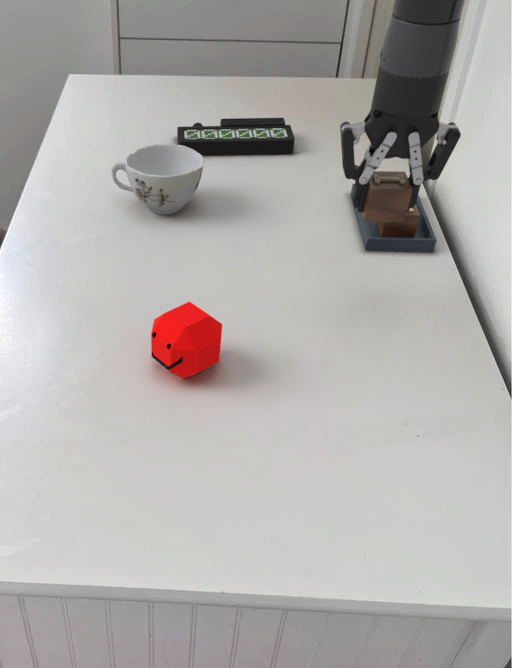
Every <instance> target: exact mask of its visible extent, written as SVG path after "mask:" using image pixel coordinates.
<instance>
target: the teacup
mask: <svg viewBox="0 0 512 668" xmlns="http://www.w3.org/2000/svg"><path fill="white" fill-rule="evenodd" d="M204 167H205V158H204V157H203V156H202V155H201V154H200V153H197V152H196V151H195V150H193V149H191V148H188V147H186V146H182V145H178V144H175V143H163V144H151V145H146V146H142V147H141V148H137V149H135V150H134V152H131V153H129V154H128V155H127V156H126V157H125V163H124V162H123V161H118V162H114V163H113V165H112V167H111V177H112V181H113V182H114V184H115V185H116V186H117V187H118V188H119V189H120V190H124V191H128V192H130V193H134V195H135V197H136V198H137V199H138V200H139V201H140V203H142V204H143V205H144V206H145V207H146V208H147V209H148V210H149V211H150V212H152V213H154V214H157V215H164V216H167V215H172V214H175V213H177V212H179V211H180V210H182V208H183V207H184V206H185V205H186V204H187V203H188V202H189V201H190V200H191V199H192V197H193V196H194V194H195V193H196V192H197V189H198V187H199V184H200V182H201V178H202V174H203V170H204ZM120 170H121V171H123V172H124V173H125V174H126V176H127V180H128V183H129V185H130V186H129V185H126V184H124V183H123V182H121V181H119V179H118V177H117V172H118V171H120Z"/></svg>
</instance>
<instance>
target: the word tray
mask: <svg viewBox="0 0 512 668" xmlns="http://www.w3.org/2000/svg"><path fill="white" fill-rule="evenodd" d="M354 186H355V183H352V185H351V190H350V198H351V203H352V206H353V210H354V214H355V217H356V218H355V219H356V222H357V225H358V229H359V232H360V237H361V240H362V244H363V248H364V252H396V253H397V252H400V253H434V251H435V248H436V245H437V237H436V235H435V232H434V229H433V227H432V225H431V223H430V220H429V217H428V215H427V213H426V209H425V207H424V204H423V202H422V200H421V197H420V194H418V197H417V200H416V206H417V208H418V211H419V213H420V218H419V222H418V225H417V229H416V233H415V236H414V238H385V237H379V234H378V231H377V228H376V222H364V220H363V216H362V213H361V212H357V209H356V208H354V205H353V201H352V196H353V191H354Z"/></svg>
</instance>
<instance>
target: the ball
mask: <svg viewBox="0 0 512 668" xmlns="http://www.w3.org/2000/svg"><path fill="white" fill-rule="evenodd" d="M222 332H223V323H222V322H220V321H218V320H217V319H215V318H214V317H213V316H212V315H210V314H208V313H207V312H206V311H204V310H203V309H201V308H200V307H199V306H197V305H196V304H194V303H192V302H191V301H187V302H185V303H183V304H181V305H179V306H177V307H174V308H172V309H170V310H167V311H166V312H164V313H162V314H160V315H159V316H158V317H156V318H154V319H153V324H152V328H151V332H150V350H151V355H150V356H151V358H152V359H153V360H155V361H156V362H157V363H159V364H160V365H161V366H162V367H164V368H165V369H166V370H168V372H169V373H171V374H173V375H175V376H177V377H179V378H181V379H184V380H185V379H187V378H188V377H191V376H194V375H196V374H197V373H200V372H202V371H203V370H206V369H208V368H211V366H214V365H215V364H218V363H220V356H221V349H222V348H221V346H222V334H223V333H222Z"/></svg>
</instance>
